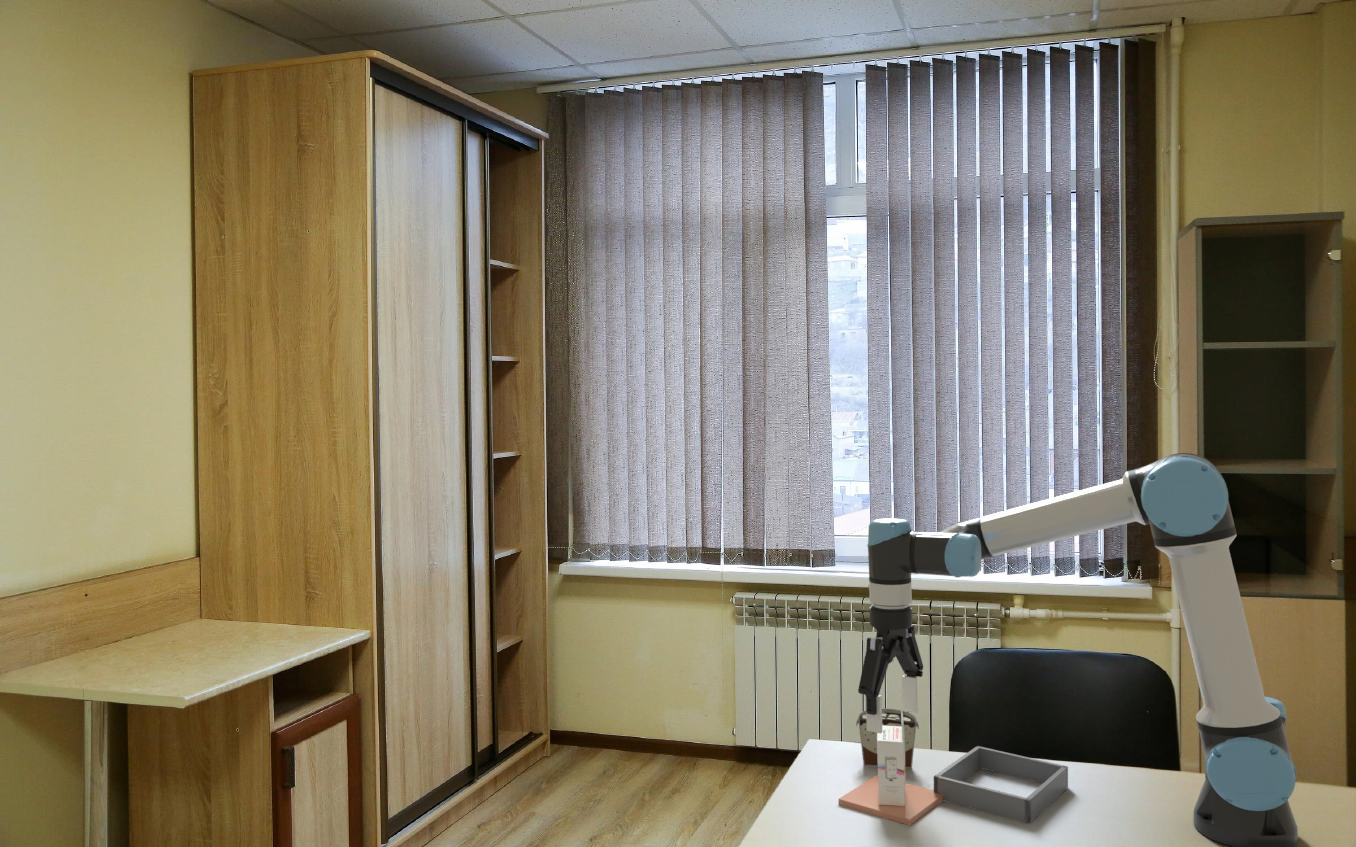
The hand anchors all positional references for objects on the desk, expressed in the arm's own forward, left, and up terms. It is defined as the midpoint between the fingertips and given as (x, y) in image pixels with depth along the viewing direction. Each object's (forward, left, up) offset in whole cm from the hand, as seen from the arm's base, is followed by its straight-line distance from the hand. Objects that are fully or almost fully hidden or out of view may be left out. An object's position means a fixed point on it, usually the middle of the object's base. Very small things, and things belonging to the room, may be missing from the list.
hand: (892, 721), depth 178 cm
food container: (+10, -17, -15) cm, 25 cm away
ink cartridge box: (0, 0, -14) cm, 14 cm away
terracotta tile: (0, 0, -15) cm, 15 cm away
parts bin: (-14, -16, -15) cm, 26 cm away
